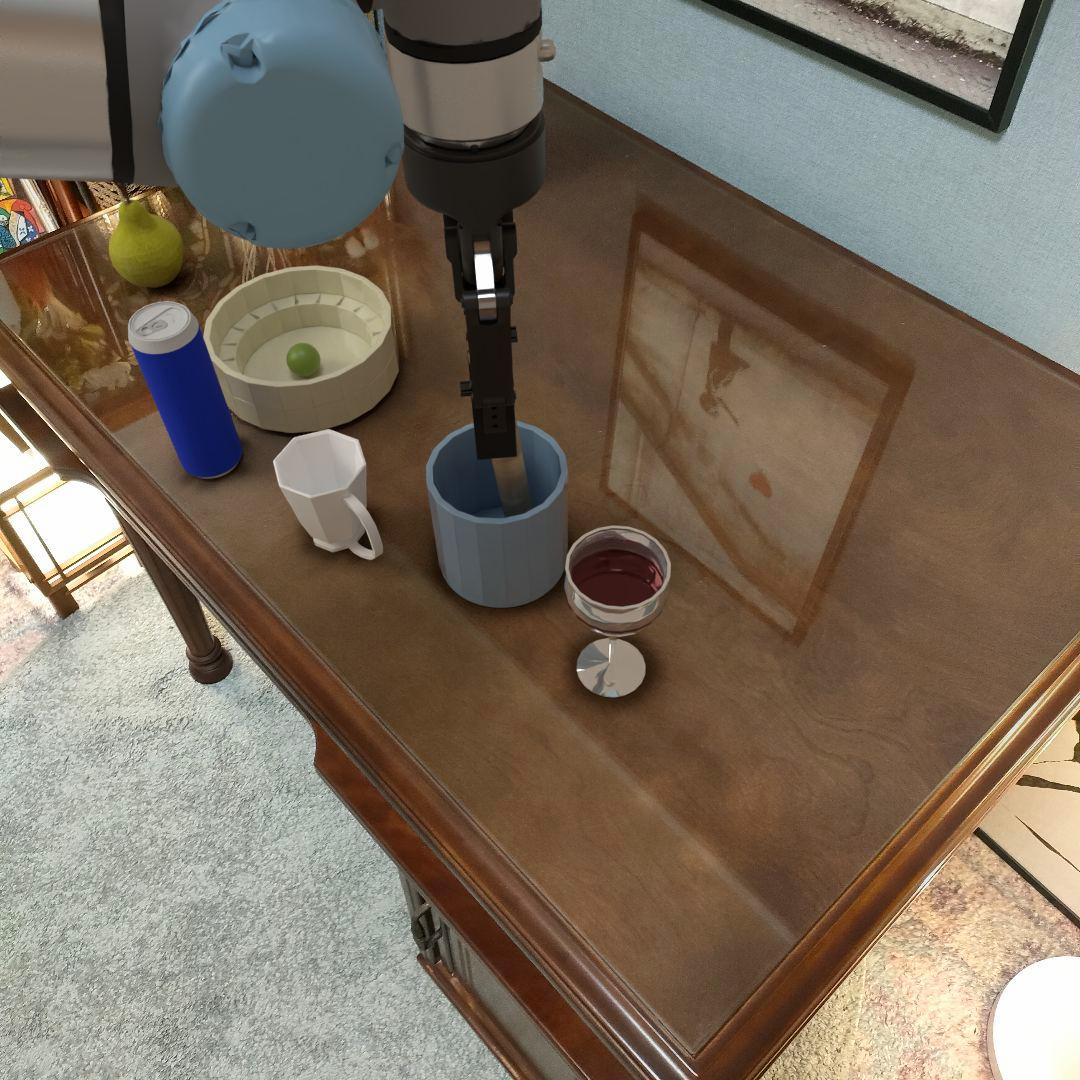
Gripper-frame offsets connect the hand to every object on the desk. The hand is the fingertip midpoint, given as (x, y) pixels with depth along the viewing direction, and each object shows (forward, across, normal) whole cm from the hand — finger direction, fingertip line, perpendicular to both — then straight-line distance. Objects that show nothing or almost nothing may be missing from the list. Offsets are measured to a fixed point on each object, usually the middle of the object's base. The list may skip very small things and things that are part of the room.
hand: (495, 438), depth 70 cm
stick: (+11, 0, -2) cm, 11 cm away
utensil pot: (+13, 0, 0) cm, 13 cm away
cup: (+13, +3, +12) cm, 18 cm away
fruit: (+13, +39, +32) cm, 52 cm away
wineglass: (+13, -11, -7) cm, 19 cm away
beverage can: (+13, +13, +24) cm, 30 cm away
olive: (+11, +23, +16) cm, 30 cm away
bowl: (+13, +23, +16) cm, 31 cm away
